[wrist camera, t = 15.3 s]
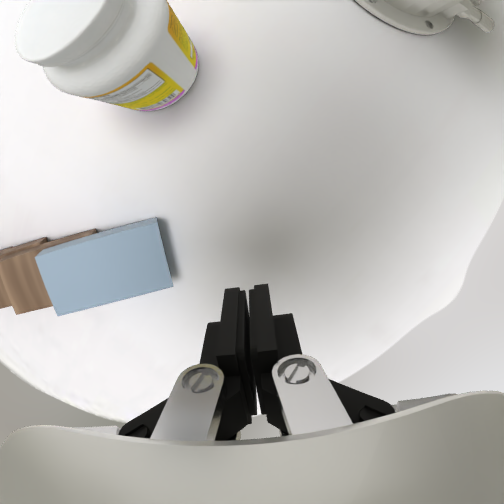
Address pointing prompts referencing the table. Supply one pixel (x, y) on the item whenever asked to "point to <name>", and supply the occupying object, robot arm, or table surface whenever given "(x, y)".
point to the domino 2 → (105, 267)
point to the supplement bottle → (110, 50)
